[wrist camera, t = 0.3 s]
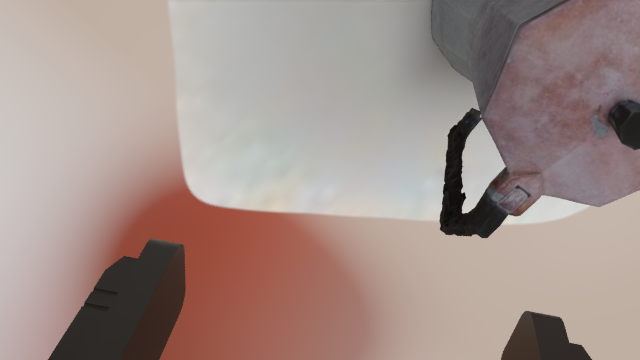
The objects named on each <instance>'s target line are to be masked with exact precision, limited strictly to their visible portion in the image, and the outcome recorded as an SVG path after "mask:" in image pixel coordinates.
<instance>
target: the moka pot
mask: <svg viewBox="0 0 640 360" xmlns="http://www.w3.org/2000/svg"><path fill="white" fill-rule="evenodd" d="M432 37H433V40H434V41H435V43H436V44H437V46H438V47H439V49H440V50H441V52H442V53H443V54H444V56H445V57H446V59H447V60H448V61H449V63H450V64H451V66H452V68H454V69H455V70H456V71H457V72H459V73H460V74H461V75H463V76H465V77H466V78H467V79H469V80H470V81H472V82H473V85H474V89H475V93H476V97H477V101H478V105H479V109H480V111H478V110H476V109H473V108H472V109H471V110H470V111H469V112H467V113H466V114H465V116H464V117H463V119H462V120H461V121H459V122H458V124H457V125H454V126H453V127H452V128H451V129H450V133H449V134H448V150H447V152H446V169H445V178H444V182H445V184H444V188H443V195H444V196H443V201H442V205H443V206H442V211H441V214H440V224H441V227H440V230H441V231H442V232H444V233H445V234H446V235H453V234H455V235H457V236H462V235H463V236H472V235H473V234H477V235H479V236H480V237H482V238H488V237H489V236H490V235H491V234H492V233H493V232H494V231H495V230H496V229H497V228H498V227H499V226H500V225H501V224H502V222H503V221H504V220H505V218H506V217H507V216H508V214H509V215H513V216H520V215H521V214H523V213H524V212H525V211H526V210H527V209H528V208H529V207H530V206H531V205H532V204H534V203H535V202H536V201H537V200H538V199H539V198H540V197H541V195H546V196H552V197H557V198H561V199H565V200H569V201H573V202H577V203H582V204H587V205H592V206H597V207H601V206H603V205H605V204H608V203H610V202H613V201H615V200H618V199H620V198H622V197H624V196H626V195H629V194H631V193H634V192H636V191H639V190H640V0H433V4H432ZM480 114H481V117H482V118H480ZM481 119H482V120H483V121H484V123H485V125H486V127H487V129H488V131H489V133H490V135H491V136H492V138H493V140H494V142H495V144H496V147H497V149H498V151H499V153H500V155H501V157H502V159H503V161H504V163H505V165H506V167H505V168H504V169H503V170H502V171H501V172H500V173H499V175H498V176H497V177H496V178H495V179H494V180H493V181H492V182H491V183H490V184H489V186H488V188H487V189H486V191H485V192H484V194H483V196H482V197H481V199H480V200H479V202H478V203H477V205H476V207H475V208H474V209H472V210H471V211H470V212H469V213H465V214H463V213H462V205H463V203H464V200H465V199H466V196H465V193H463V194H462V193H461V190H462V188H463V184H462V177H461V174H462V167H463V166H462V152H463V149H464V147H465V142H466V139H467V137H468V135H469V134H470V132H471V131H472V130H473V129H474V128H475V126H476V125H477V124H478V123H479V122H480V121H481Z"/></svg>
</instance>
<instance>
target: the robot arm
mask: <svg viewBox="0 0 640 360" xmlns="http://www.w3.org/2000/svg"><path fill="white" fill-rule="evenodd" d="M184 297H185V254H184V246H183V245H182V244H178V243H173V242H168V241H163V240H157V239H150V240H149V241H148V242H147V244H146V246H145V247H144V249H143V251H142V252H141V254H140V256H139V258H138V259H137V258H132V257H126V256H124V257H122V258H121V259H119V260H118V261H117V262H116V263H114V264H113V265H112V266H110V267H109V268H108V269H106V270H105V272H104V273H103V275H102V276H101V278H100V279H99V281H98V282H97V284H96V285H95V287H94V290H93V292H91V294H90V295H89V297H88V298H87V300H86V301H85V304H84V306H83V307H81V309H80V310H79V312H78V314H77V315H76V317H75V318H74V320H73V322H72V323H71V325H70V326H69V328H68V329H67V331H66V332H65V334H64V335H63V337H62V339H61V340H60V342H59V343H58V345H57V346H56V348H55V350H54V351H53V353H52V354H51V356H50V357H49V359H48V360H159V359H160V357H161V354H162V352H163V350H164V348H165V346H166V344H167V341H168V339H169V337H170V335H171V332H172V330H173V328H174V326H175V323H176V321H177V319H178V317H179V314H180V312H181V309H182V306H183V301H184ZM501 360H592V359H591V358H590V356H589V355H588V353H587V352H586V351H585V349H584V348H583V347H582V345H578V344H572V343H569V340H568V337H567V333H566V329H565V326H564V323H563V321H562V319H561V318H560V317H556V316H551V315H545V314H540V313H535V312H530V311H525V312H524V313H523V314H522V316H521V318H520V319H519V321H518V324H517V325H516V327H515V329H514V331H513V333H512V335H511V337H510V339H509V341H508V343H507V345H506V347H505V349H504V351H503V354H502V358H501Z"/></svg>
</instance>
